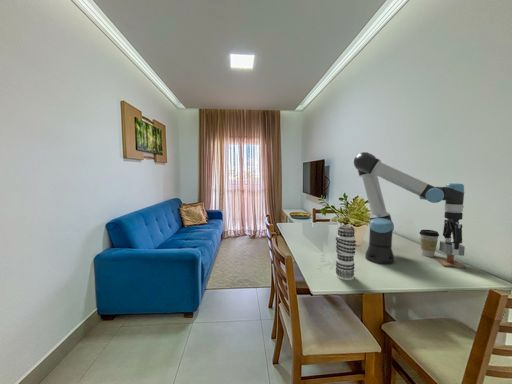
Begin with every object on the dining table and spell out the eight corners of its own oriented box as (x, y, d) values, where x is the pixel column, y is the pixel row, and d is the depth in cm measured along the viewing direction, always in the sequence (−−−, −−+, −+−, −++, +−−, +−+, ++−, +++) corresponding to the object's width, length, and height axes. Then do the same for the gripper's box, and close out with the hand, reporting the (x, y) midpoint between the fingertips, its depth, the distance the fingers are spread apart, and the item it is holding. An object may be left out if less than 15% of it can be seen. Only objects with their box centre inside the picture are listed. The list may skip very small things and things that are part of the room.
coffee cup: (441, 258, 137) (443, 233, 136) (422, 257, 139) (424, 232, 138) (432, 252, 146) (433, 229, 145) (415, 251, 148) (416, 228, 147)
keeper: (443, 266, 125) (444, 250, 124) (435, 259, 135) (436, 244, 134) (465, 268, 122) (467, 252, 121) (456, 261, 132) (457, 246, 131)
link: (446, 254, 125) (446, 245, 125) (439, 249, 133) (439, 241, 132) (464, 255, 123) (464, 246, 122) (456, 251, 130) (456, 242, 130)
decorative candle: (331, 276, 113) (332, 226, 111) (339, 270, 120) (341, 223, 118) (349, 282, 107) (351, 229, 105) (357, 276, 113) (359, 226, 111)
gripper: (473, 215, 115) (470, 259, 117) (452, 209, 135) (449, 247, 137) (455, 214, 117) (452, 258, 119) (436, 208, 137) (434, 245, 139)
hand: (451, 252), depth 128 cm, fingers closed on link, 8 cm apart
